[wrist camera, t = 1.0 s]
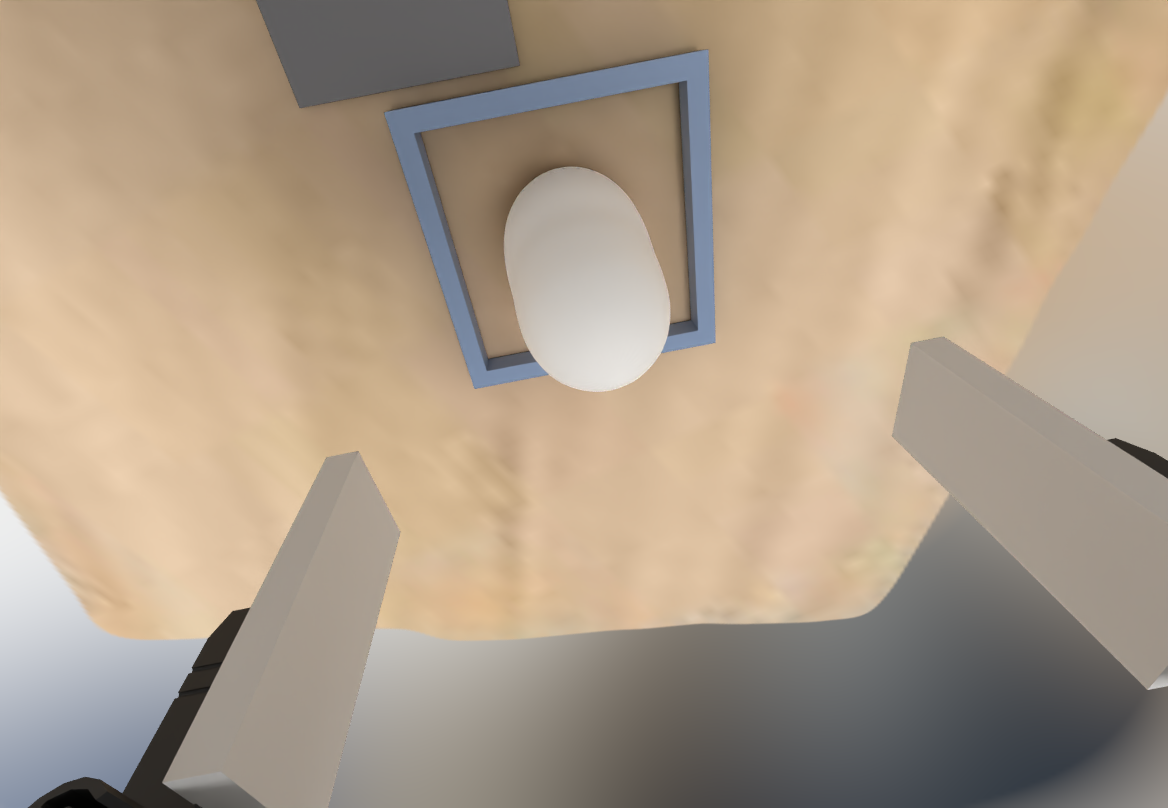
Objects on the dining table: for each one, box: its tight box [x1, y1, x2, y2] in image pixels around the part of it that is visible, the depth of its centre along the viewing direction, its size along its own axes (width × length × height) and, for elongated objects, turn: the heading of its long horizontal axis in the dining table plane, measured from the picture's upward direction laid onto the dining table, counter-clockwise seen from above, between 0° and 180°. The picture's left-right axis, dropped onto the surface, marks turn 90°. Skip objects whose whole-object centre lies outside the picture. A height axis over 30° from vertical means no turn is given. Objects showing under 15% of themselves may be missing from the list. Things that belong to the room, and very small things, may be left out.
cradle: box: [384, 50, 715, 389], centre depth 27 cm, size 14×14×2 cm
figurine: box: [504, 167, 670, 392], centre depth 23 cm, size 7×8×12 cm
